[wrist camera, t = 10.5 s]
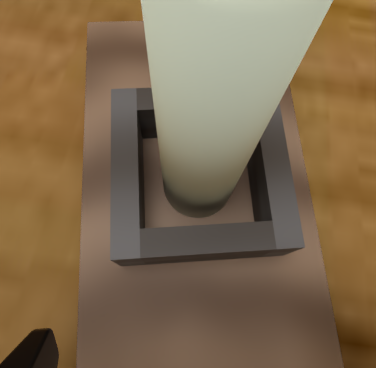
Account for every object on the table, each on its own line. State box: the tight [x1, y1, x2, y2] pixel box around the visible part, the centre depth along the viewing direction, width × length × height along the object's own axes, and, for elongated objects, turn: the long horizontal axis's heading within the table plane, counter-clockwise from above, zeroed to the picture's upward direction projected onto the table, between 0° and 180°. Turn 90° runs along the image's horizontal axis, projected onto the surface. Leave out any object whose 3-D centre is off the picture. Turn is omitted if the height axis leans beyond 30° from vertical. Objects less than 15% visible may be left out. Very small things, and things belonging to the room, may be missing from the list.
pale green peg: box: [141, 0, 333, 218], centre depth 12 cm, size 4×4×13 cm
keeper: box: [76, 21, 344, 368], centre depth 17 cm, size 22×12×4 cm, turn 4°
